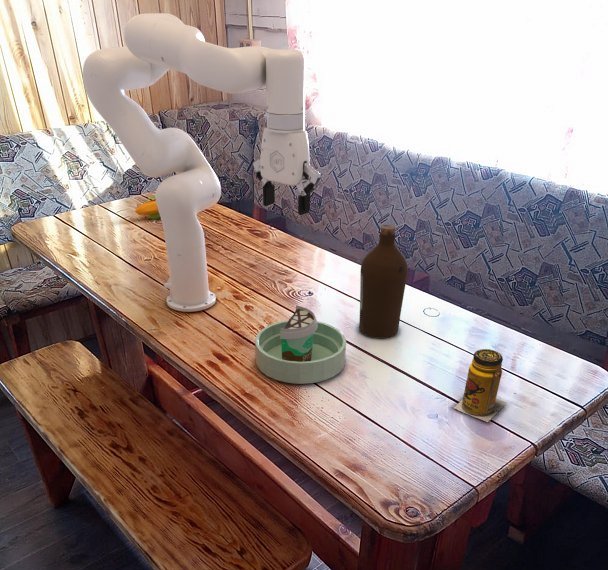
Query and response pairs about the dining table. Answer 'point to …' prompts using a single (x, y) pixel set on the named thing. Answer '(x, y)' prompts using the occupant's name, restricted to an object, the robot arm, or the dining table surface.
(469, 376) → the condiment
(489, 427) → the dining table surface
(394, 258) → the olive oil
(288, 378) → the bowl
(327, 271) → the dining table surface
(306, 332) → the food container
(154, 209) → the corn
